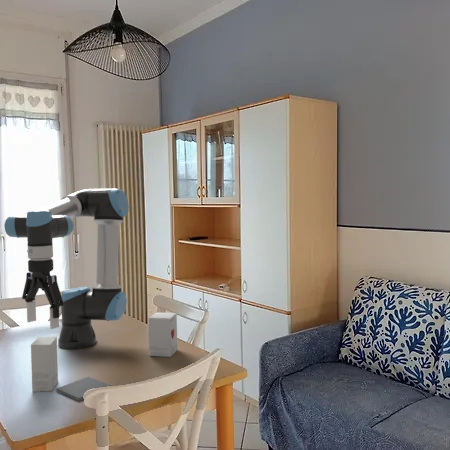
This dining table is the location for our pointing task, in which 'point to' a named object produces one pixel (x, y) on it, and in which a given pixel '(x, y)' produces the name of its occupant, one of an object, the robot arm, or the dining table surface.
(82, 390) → the slate mat
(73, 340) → the robot arm
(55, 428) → the dining table surface
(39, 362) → the skincare box
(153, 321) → the supplement box
